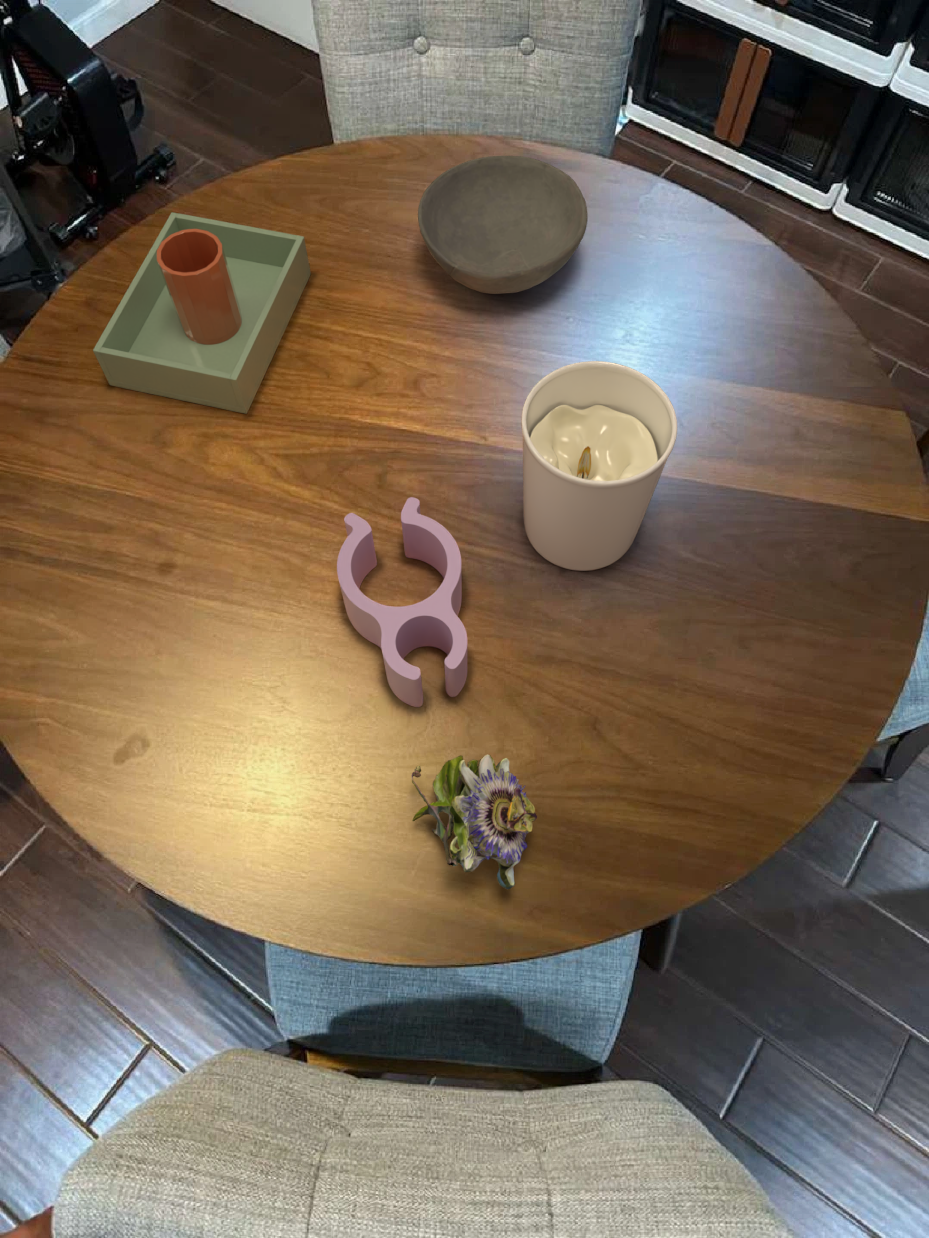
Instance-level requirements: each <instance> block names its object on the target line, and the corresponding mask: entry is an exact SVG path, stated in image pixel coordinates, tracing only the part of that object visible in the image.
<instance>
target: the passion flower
mask: <svg viewBox="0 0 929 1238" xmlns="http://www.w3.org/2000/svg"><path fill="white" fill-rule="evenodd" d="M465 761H466V760H465V759H464V756H463V754H461V755H458V756H456V757H453V758H452V759H449V760H447V761H445V762H444V764H443V766H442V767H441V769H440V770H439V772H438V773H437V774H436V775H435V778H434V780H433V782H432V788H433V793H434V794H435V798H436V801H433V802H431V803H429V801H428V799H427V798H426V796H425V795H424V794H423V793H422V791H421V790H420V787H419V786H418V784H417V783H416V781H415V780H414V777H415V778H420V777H421V776H422V773H421V772H422V769H421V765H420V764H419V765H417V766H415V768H414V771H413V772H412V773H411V783H412V784H413V786H414V788H415V789H416V791H417V792H418V794H419V796H420V797H421V798H422V800H423V802H425V804H426V805H425V806H423V807H421V808H420V809H419V810H418V811H417V812H416V813H415V814H414V816H413V818H412V820H411V821H412V822H416V820H419V819H420V818H422V817H424V816H428V815H430V816H432V817H434V819H435V820H436V828H432V829H431V831H432V832H433V833H434V834H435V835H437V837H439V839H440V841H441V843H443V848H444V852H445V861H446V864H447V865H448V866H451V867H458V866H459V865H460V866H461V867H462V869H463V872H464V873H472V872H474V871H475V870H476V869H478V867H479V865H480V864H482V863H483V861H485V860H487V861H489V860H490V859H492V860H494V861H496V862H497V864H498V865H497V866H498V872H497V874H496V879H497V882H498V884H499V886H501V887H502V888H504V889H506V890H511V889H513V887H515V885H516V884H515V883H516V882H515V876H514V874H515V872H514V867H515V866H516V865H518V864H519V863H520V862H521V860H522V855H523V852H524V851H525V850H526V849H527V848H528V842H527V841H526V837H527V835H528V834H529V833H531V832H533V822H535V821H536V820H537V819H538V815H537V813H536V808H535V806H534V804H533V803H532V801H531V800H530V799H529V798H528V796H527V791H525V792H523V790H524V789H525V788H526V785H524V786H523V787H522V784H520V783H519V781H520V779H519V778H517V776H516V775H514V774H513V773H512V772H511V771H510V759H509V758H508V757H505V758H502V760H501V761H499V762H497V764H495V763H496V762H495V759H494V758H493V757H492V755H491V754H485V755H483V756H482V757H481V758H480V759H479V760H478V759H471V760H469V761H468V762H467V764H466V762H465ZM442 812H443V813H445V814H447V815H448V822H447V826H445V824H444V823H443V821H442V820H441V818H440V815H439V814H440V813H442ZM453 834H454V838H453V839H452V841H451V842H450V845H449V840H450V839H451V837H452V835H453ZM456 844H457V846H458V848H457V847H456Z"/></svg>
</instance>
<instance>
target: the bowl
mask: <svg viewBox="0 0 929 1238" xmlns="http://www.w3.org/2000/svg"><path fill="white" fill-rule="evenodd" d="M588 216H589V214H588V207H587V202H586V200H585V197H584V195H583V193H582V191H581V189H580V187H579V185H577V183H576V181H575V180H574V179H573V178H572V177H571V176H570V175H568V174H567V173H566V172H565V171H563V170H561V169H560V168H558V167H556V166H554V165H553V164H549V163H548V162H545V161H542V160H539V159H536V158H532V157H528V156H521V155H490V156H483V157H479V158H475V159H474V158H473V159H471V160H467V161H465V162H461V163H459V164H457V165H453V166H452V167H450V168H449V169H447V170H445V171H443V172H442V173H441V174H440V175H438V176H437V177H436V178H435V179H434V180H433V181H432V182H431V183H430V184H429V185H428V186H427V188H426V189H425V190H424V192H423V194H422V196H421V198H420V200H419V203H418V209H417V221H418V227H419V231H420V234H421V237H422V239H423V242H424V243H425V246H426V247H427V250H428V251H429V253H430V254H431V256H432V258H434V260H435V261H436V262H437V264H439V266H440V268H442V269H443V271H445V273H446V274H448V276H449V277H450V278H451V279H453V280H454V281H455V282H457V283H458V284H461V285H462V286H464V287H466V288H469V289H470V290H473V291H476V292H479V293H484V294H491V295H496V294H499V295H500V294H515V293H519V292H522V291H526V290H529V289H531V288H533V287H535V286H538V285H540V284H541V283H543V282H545V281H547V280H548V279H550V278H551V277H553V276H554V275H555V274H556V273H557V272H559V271H560V270H561V269H562V268H563V267H564V266H565V265H566V264H567V263H568V262H569V260H570V259H571V258H572V257H573V255H574V254H575V252H576V251H577V249H579V248H578V247H579V246H580V244H581V242H582V240H583V239H584V236H585V233H586V230H587V226H588Z"/></svg>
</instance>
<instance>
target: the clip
mask: <svg viewBox="0 0 929 1238" xmlns="http://www.w3.org/2000/svg"><path fill="white" fill-rule="evenodd" d="M420 503H421V502H420V500H419V499H418V498H416V497H414V496H410V497H407V499H406V501H405V503H404V505H403V507H402V510H401V512H400V521H401V522H400V523H401V531H402V532H401V533H402V540H403V541H402V542H403V549H404V556H405V557H406V558H408V559H414V560H418V561H421V562H424V563H426V564H428V565H429V566H431V567H433V568H434V569H435V570H436V571H437V572H438V573H439V574H440V575H441V576H442V578H443V580H442V582H441V584H440V585H439V586H438V588H437V589H436V590H435V591H434V592H433V593H432V594H431V595H429V596H428V597H427V598H425V599H423V600H420V601H418V602H416V603H413V604H409V605H404V606H403V605H402V606H392V605H386V604H382V603H379V602H377V601H375V600H373V599H371V598H370V597H368V596H366V594H364V593H363V592H362V591H361V589H360V587H361V585H362V583H363V581H364V580H365V578H366V577H367V575H368V574H369V573H370V572H372V570H373V569H375V568H376V567H377V565H378V560H377V554H376V548H375V542H374V536H373V530H372V527H371V525H370V524H369V522H368V521H367V520H366V519H364V518H362V517H360V516H359V515H357V514H356V513H354V512H349V513H347V514H346V515H345V516H344V518H343V520H344V526H345V531H346V535H347V537H346V538H345V540H344V542H343V543H342V545H341V547H340V549H339V553H338V556H337V561H336V573H337V574H336V575H337V579H338V583H339V588H340V591H341V595H342V599H343V600H342V601H343V604H344V609H345V612H346V615H347V618H348V620H349V622H350V624H351V625H352V627H353V628H354V629H355V630H356V632H358V634H359V635H360V636H362V637H363V638H364V639H366V640H367V641H369V642H370V643H372V644H373V645H375V646H377V647H378V648H380V649H381V653H382V658H383V664H384V670H385V674H386V680H387V683H388V686H389V688H390V690H391V692H392V693H393V694H394V695H395V696H396V697H397V699H399V700H400V701H401V702H402V703H405V704H406V705H408V706H410V707H415V708H420V707H422V706H423V704H424V693H423V683H422V682H423V681H422V673H421V669H420V668H419V667H418V666H416V665H414V664H413V665H412V664H410V663H409V662H407V661H406V660H404V659H405V658H406V656H407V655H409V653H411V652H412V651H413V650H416V649H419V648H422V647H431V648H437V649H439V650H441V651H442V652H444V653H445V654H446V655H447V656H446V657H445V659H444V661H443V662H444V679H445V681H444V682H445V692H446V694H447V695H448V696H449V697H451V698H455V697H457V696H458V695H459V694H460V692H462V690H463V688H464V686H465V684H466V682H467V677H468V634H467V633H468V632H467V629H466V627H465V625H464V623H463V622H462V620H461V619H460V617H458V616H459V613H460V610H461V607H462V600H463V594H462V593H463V590H462V587H463V586H462V585H463V584H462V582H463V581H462V580H463V579H462V555H461V552H460V548H459V545H458V543H457V541H456V539H455V538H454V537H453V535H452V534H451V532H449V530H448V529H447V528H446V527H445V526H444V525H442V524H441V523H439V522H438V521H437V520H435V519H433V518H431V517H429V516H427V515H423V514H421V504H420Z"/></svg>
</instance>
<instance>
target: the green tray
mask: <svg viewBox="0 0 929 1238" xmlns="http://www.w3.org/2000/svg"><path fill="white" fill-rule="evenodd" d="M186 229H200V230H206V231H209V232H210V233H212V234H214V235H215V236H217V237H218V239H219V240H220V242H221V243H222V246H223V250H224V253H225V257H226V260H227V264H228V267H229V271H230V274H231V278H232V281H233V285H234V288H235V292H236V295H237V299H238V303H239V306H240V310H241V315H242V324H241V327H240V329H239V331H238V332H237V333H236V334H235V335H234V336H233V337H232V338H230V339H228V340H226V341H224V342H222V343H218V344H213V345H205V344H199V343H196V342H194V341H192V340H190V339H189V338H188V337H187V336H186V335H185V333H184V332H183V329H182V327H181V325H180V322H179V320H178V317H177V314H176V311H175V309H174V306H173V303H172V300H171V298H170V295H169V292H168V289H167V287H166V284H165V281H164V278H163V276H162V273H161V270H160V267H159V265H158V262H157V249H158V248H159V246H160V244H161V242H162V241H163V240H165V239H166V238H167V237H168V236H170V235H171V234H173V233H176V232H179V231H181V230H186ZM311 274H312V272H311V267H310V262H309V256H308V250H307V245H306V240H305V236H303V235H297V234H292V233H288V232H282V231H276V230H271V229H265V228H260V227H254V226H249V225H244V224H239V223H233V222H227V221H222V220H216V219H211V218H207V217H201V216H195V215H189V214H184V213H179V212H178V213H177V212H172V211H171V212H170V214H169V216H168V217H167V220H166V221H165V223H164V225H163V227H162V228H161V230H160V232H159V234H158V235H157V237H156V239H155V241H154V242H153V244H152V246H151V248H150V249H149V251H148V252H147V254H146V256H145V258H144V260H143V261H142V263H141V265H140V266H139V269H138V270H137V272H136V274H135V276H134V277H133V279H132V281H131V283H130V284H129V286H128V288H127V289H126V292H125V293H124V295H123V296H122V299H121V300H120V302H119V303H118V305H117V307H116V309H115V310H114V312H113V314H112V316H111V317H110V319H109V321H108V323H107V325H106V326H105V328H104V330H103V331H102V333H101V335H100V337H99V338H98V341H97V342H96V344H95V346H94V347H93V349H92V352H93V354H94V356H95V358H96V360H97V362H98V364H99V366H100V368H101V371H102V372H103V374H104V376H105V378H106V380H107V383H108V384H109V385H108V386H112V387H116V388H120V389H121V388H122V389H125V390H131V391H136V392H140V393H145V394H150V395H155V396H159V397H163V398H164V397H165V398H168V399H169V398H170V399H174V400H177V401H183V402H187V403H193V404H198V405H202V406H203V405H204V406H207V407H211V408H215V409H216V408H217V409H222V410H227V411H231V412H235V413H241V414H245V415H247V414H248V412H249V410H250V408H251V407H252V404H253V402H254V399H255V398H256V395H257V393H258V391H259V389H260V387H261V384H262V382H263V379H264V377H265V375H266V373H267V372H268V368H269V366H270V364H271V362H272V360H273V358H274V356H275V353H276V351H277V350H278V347H279V344H280V343H281V341H282V338H283V336H284V334H285V331H286V329H287V327H288V325H289V322H290V320H291V319H292V316H293V315H294V312H295V310H296V308H297V305H298V303H299V301H300V299H301V297H302V294H303V293H304V290H305V288H306V286H307V283H308V281H309V279H310V277H311Z"/></svg>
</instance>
